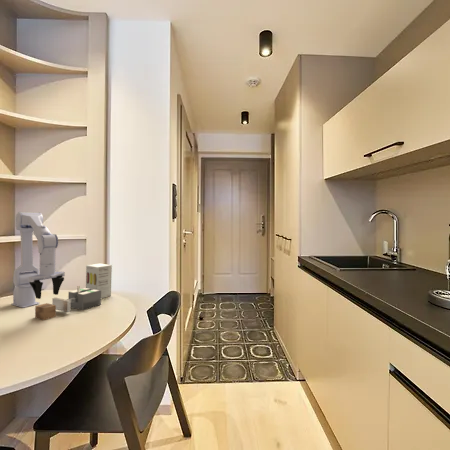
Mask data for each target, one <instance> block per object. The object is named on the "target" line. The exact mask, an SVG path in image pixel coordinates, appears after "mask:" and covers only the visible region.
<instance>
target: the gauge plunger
mask: <svg viewBox="0 0 450 450" xmlns="http://www.w3.org/2000/svg"><path fill="white" fill-rule="evenodd" d="M76 287H77V288H76V290H77V297H78V293H80V289H81V286H80V285H78V286H76ZM77 297H74V298H70V299H68V298H67V299H64V298H60V297H53V298H51V299H52V301H51V302H52V303H51V304H52V305H56V310H57V311H61V312H66V313H69V312H71V310H72V309H71V308H72V307H71V303H73V302H76V301H77Z"/></svg>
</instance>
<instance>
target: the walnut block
mask: <svg viewBox="0 0 450 450" xmlns="http://www.w3.org/2000/svg"><path fill="white" fill-rule="evenodd" d="M34 306H35V307H34V310H35V313H34V314H35V315H34V317H35V318H36V319H39V320H42V321H45V320H46V321H47V320H49V319H53V318H56V317H57V316H56V315H57V312H56V305H52V303H48V302H46V303H42V304H36V305H34Z"/></svg>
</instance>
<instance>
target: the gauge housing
mask: <svg viewBox="0 0 450 450" xmlns="http://www.w3.org/2000/svg"><path fill="white" fill-rule="evenodd" d="M67 297H68V298H67V299H70V298H74V297H77V289H75V290H71V291H70V290H69V291H68V296H67ZM101 305H102V298H101V290H96V289H91V288H86V287H84V288H80V293H78V297H77V301H76V302H73V303H71V308H72V309H77V310H80V311H81V310H82V311H85V310H89V309H91V308H95V307H98V306H101Z"/></svg>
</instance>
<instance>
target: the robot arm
mask: <svg viewBox="0 0 450 450" xmlns="http://www.w3.org/2000/svg"><path fill="white" fill-rule="evenodd" d="M43 223H44V217H43V213H42V212H39V211H38V212H28V211H25V212H24V211H23V212H22V211H18V212H17V213H16V215H15V229H16V230H18V231H19V232H20V266H18V267H17V268H15V269H14V271H13V277H12V280H13V281H12V282H13V285H14V286H15V287H14V288H13V290H12V291H13V293H12V294H13V295H12V299H13V300H12V303H11V306H15V307H19V308H26V307H27V308H28V307H31V306H37V305H40V302H38V301H36V299H38V300H39V299H40V300H41V299H42V288H43V285H44V282H43V280H49V279H50V280H51V282H52V293H53V295H56V296H57V295H59V292H60V289H61V286H62V283H63V282H64V281H65V276H66V275H65V274H66V273H65V271H56V249H57V248H58V245H59V238H58V236H57V234H55V233H52V232H51V231H50V229H49V228H48V226H46V225H45V224H43ZM33 235H34V237H35V238H36V240H37V243H36V244H37V247H38V250H37V251H38V253H39V268H38V267H37V266H36V265H34V263H33V261H34V257H33V256H34V254H33V253H34V251H33V249H34V248H33V247H34V246H33V244H34V243H33Z"/></svg>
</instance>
